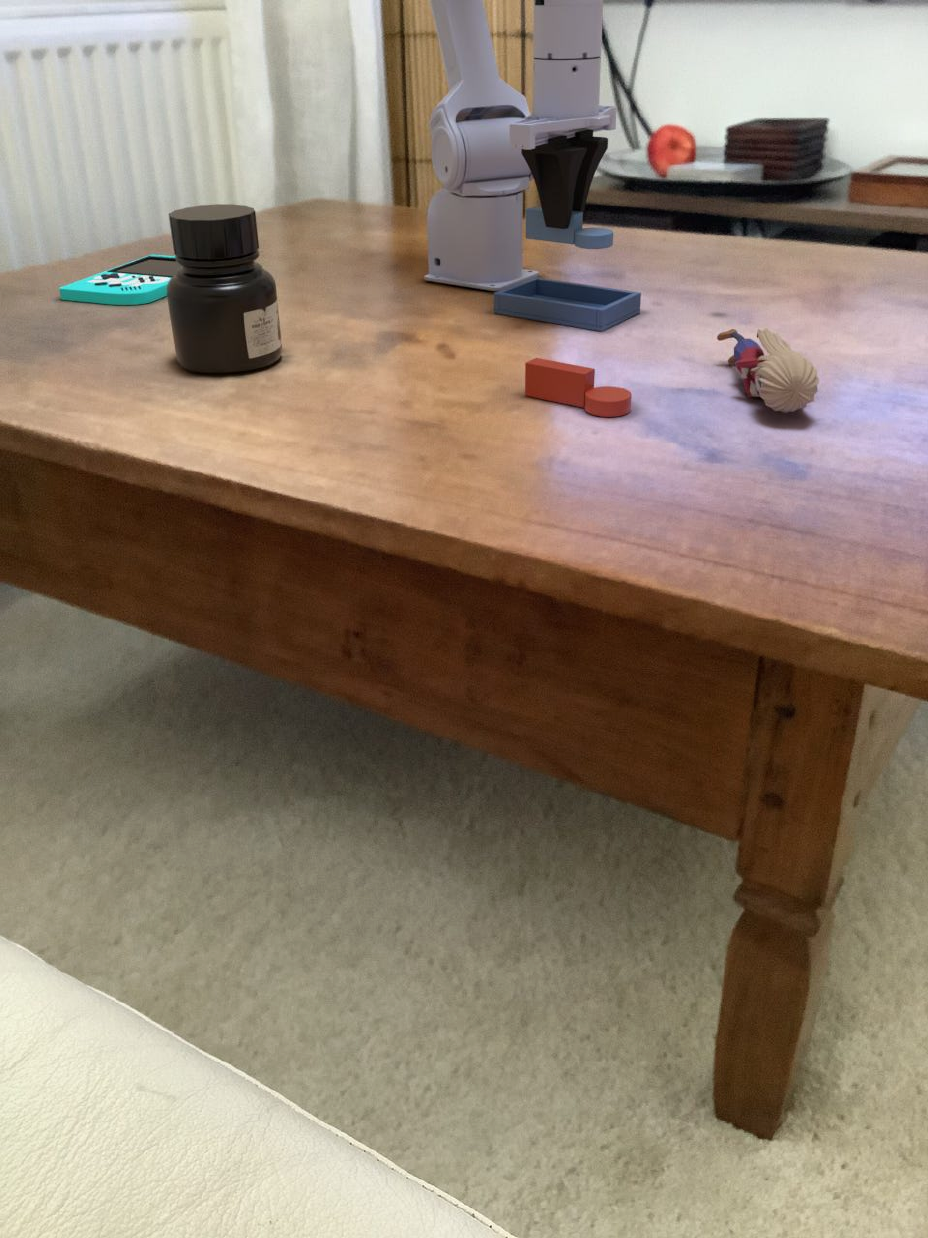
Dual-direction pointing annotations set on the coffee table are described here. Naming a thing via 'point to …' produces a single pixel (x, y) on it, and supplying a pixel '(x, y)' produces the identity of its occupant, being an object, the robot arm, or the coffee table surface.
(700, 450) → the coffee table surface
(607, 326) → the blue tray
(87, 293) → the handheld game console
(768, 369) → the figurine
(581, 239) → the blue block with disc
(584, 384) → the red block with disc
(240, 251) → the ink bottle
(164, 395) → the coffee table surface
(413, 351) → the coffee table surface
